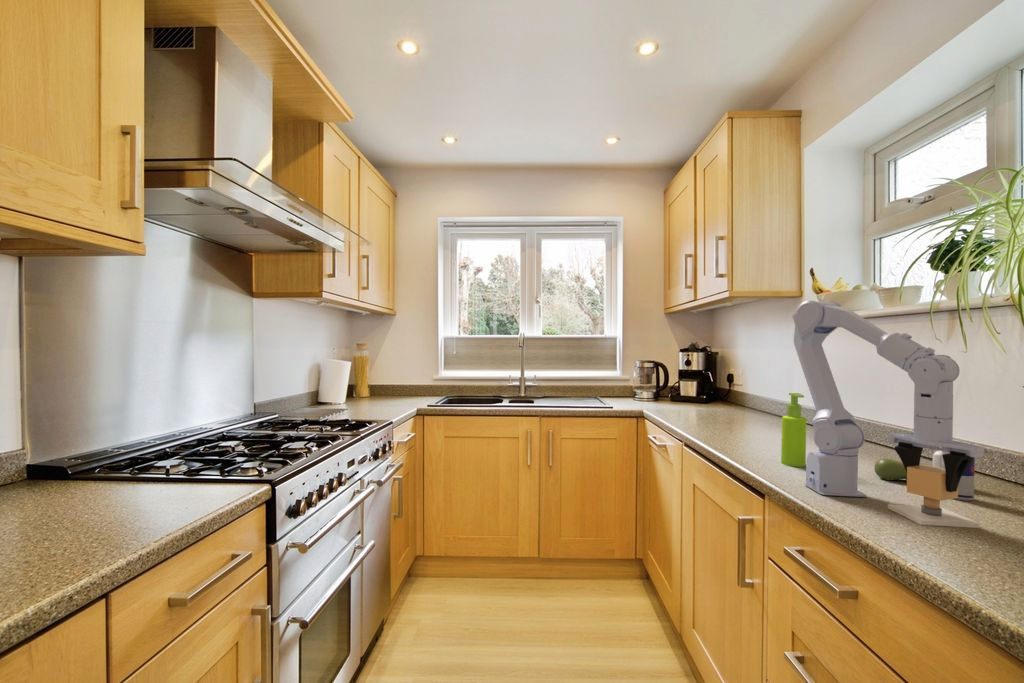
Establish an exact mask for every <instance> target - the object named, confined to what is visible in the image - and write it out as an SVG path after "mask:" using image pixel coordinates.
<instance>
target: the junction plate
mask: <svg viewBox="0 0 1024 683" xmlns="http://www.w3.org/2000/svg"><path fill="white" fill-rule="evenodd" d="M922 498H923V499H922V500H923V504H921V505H910V504H908V505H907V504H905V505H904V504H889V503H888V504H887V508H888V509H889V510H891V511H892V512H895V513H897V514H898V515H901V516H903V517H905V518H907V519H909V520H911V521H913V522H915V523H917V524H918V525H921V526H935V527H936V526H938V527H955V528H956V527H957V528H960V527H961V528H971V529H972V528H975V529H976V528H977V529H979V528H980V523H979V522H977V521H975V520H972V519H970V518H968V517H966V516H963V515H960V514H958V513H956V512H953V511H951V510H949V509H947V508H944V507H942V506H941V501H939V500H936V499H932V498H928V497H924V496H923V497H922Z"/></svg>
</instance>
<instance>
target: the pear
mask: <svg viewBox="0 0 1024 683" xmlns="http://www.w3.org/2000/svg"><path fill="white" fill-rule="evenodd" d="M874 472H875V474H876V476H878V477H879V478H880V479H882V480H884V481H895V480H897V481H898V480H906V481H907V473H906V470H905V467H904V465H903V463H902V461H898V460H895V459H891V458H880V459H878V460H877V461H875V464H874Z"/></svg>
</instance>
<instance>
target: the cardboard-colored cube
mask: <svg viewBox="0 0 1024 683" xmlns="http://www.w3.org/2000/svg"><path fill="white" fill-rule="evenodd" d="M945 482H946V472H945V469H943V468H938V467H933V465H932V466H931V465H928V464H920V465H918V466H910V467H907V480H906V493H910V494H912V495H916V496H920V497H923V498H924V497H928V498H932V499H936V500H939V501H940V502H943V501H947V500H955V499H954V498H958V487H957V491H955V492H948V491H946V485H945Z"/></svg>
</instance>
